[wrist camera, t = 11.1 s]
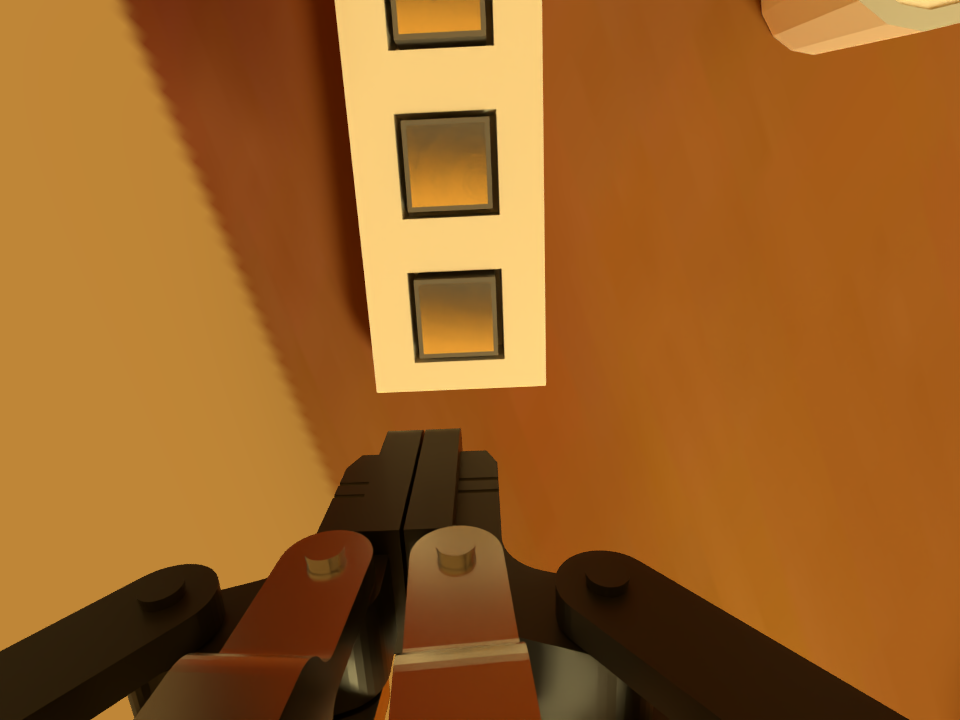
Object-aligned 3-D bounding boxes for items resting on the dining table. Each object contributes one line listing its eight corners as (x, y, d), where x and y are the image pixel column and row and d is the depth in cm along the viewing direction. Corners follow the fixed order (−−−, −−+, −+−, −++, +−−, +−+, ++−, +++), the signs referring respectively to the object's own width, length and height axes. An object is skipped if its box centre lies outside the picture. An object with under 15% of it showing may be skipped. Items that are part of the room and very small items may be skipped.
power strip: (331, -217, 23) (302, -296, 19) (528, -228, 23) (538, -310, 19) (389, 366, 30) (377, 392, 27) (537, 360, 30) (545, 385, 26)
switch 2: (419, 272, 27) (413, 280, 25) (494, 268, 27) (495, 276, 25) (424, 344, 28) (419, 358, 26) (496, 340, 28) (498, 354, 26)
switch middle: (407, 126, 25) (400, 120, 23) (488, 122, 25) (489, 116, 23) (414, 209, 26) (408, 212, 24) (491, 206, 26) (492, 208, 24)
